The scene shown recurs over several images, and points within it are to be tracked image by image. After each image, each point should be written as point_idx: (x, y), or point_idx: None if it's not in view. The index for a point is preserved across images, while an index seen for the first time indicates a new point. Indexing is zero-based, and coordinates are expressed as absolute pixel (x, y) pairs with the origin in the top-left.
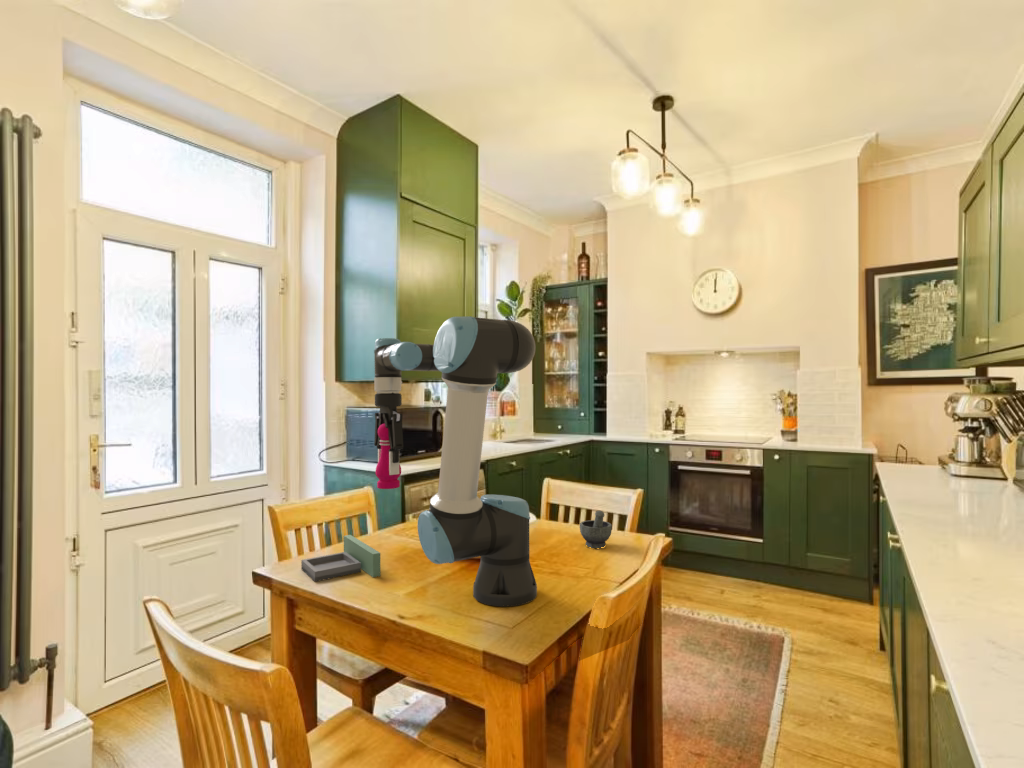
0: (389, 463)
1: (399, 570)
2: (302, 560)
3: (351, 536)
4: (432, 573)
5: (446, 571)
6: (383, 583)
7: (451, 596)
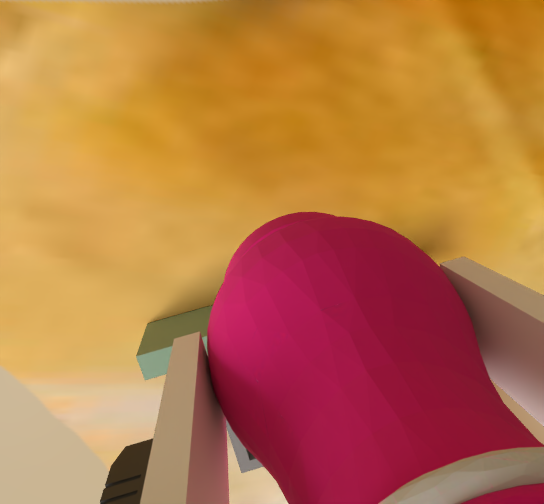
0: (525, 400)
1: (370, 191)
2: (248, 470)
3: (165, 353)
4: (444, 96)
5: (448, 45)
6: (456, 252)
7: None
